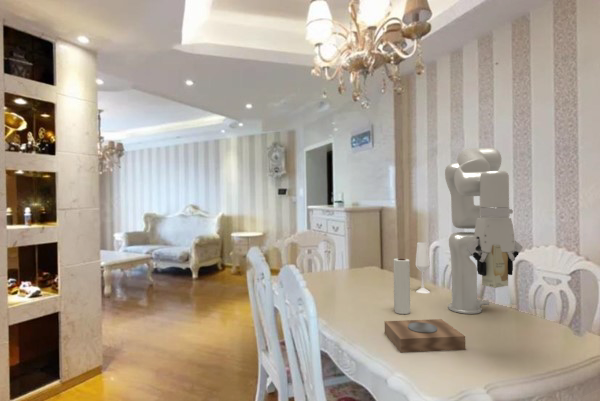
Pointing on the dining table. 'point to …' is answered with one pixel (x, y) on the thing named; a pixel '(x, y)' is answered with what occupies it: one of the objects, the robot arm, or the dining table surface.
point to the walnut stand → (424, 335)
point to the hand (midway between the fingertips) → (495, 274)
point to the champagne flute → (422, 262)
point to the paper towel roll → (402, 285)
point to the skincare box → (496, 268)
